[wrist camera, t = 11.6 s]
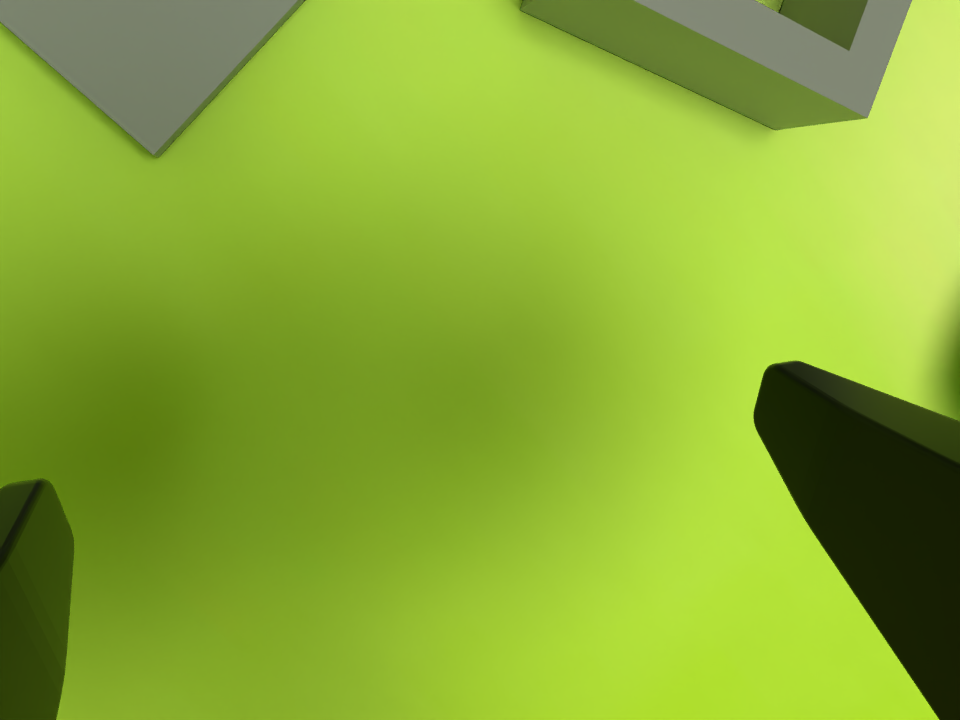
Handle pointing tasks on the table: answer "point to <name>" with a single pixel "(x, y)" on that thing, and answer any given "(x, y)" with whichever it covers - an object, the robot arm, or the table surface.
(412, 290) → the table surface
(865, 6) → the dispenser sleeve
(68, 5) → the rubber mat
